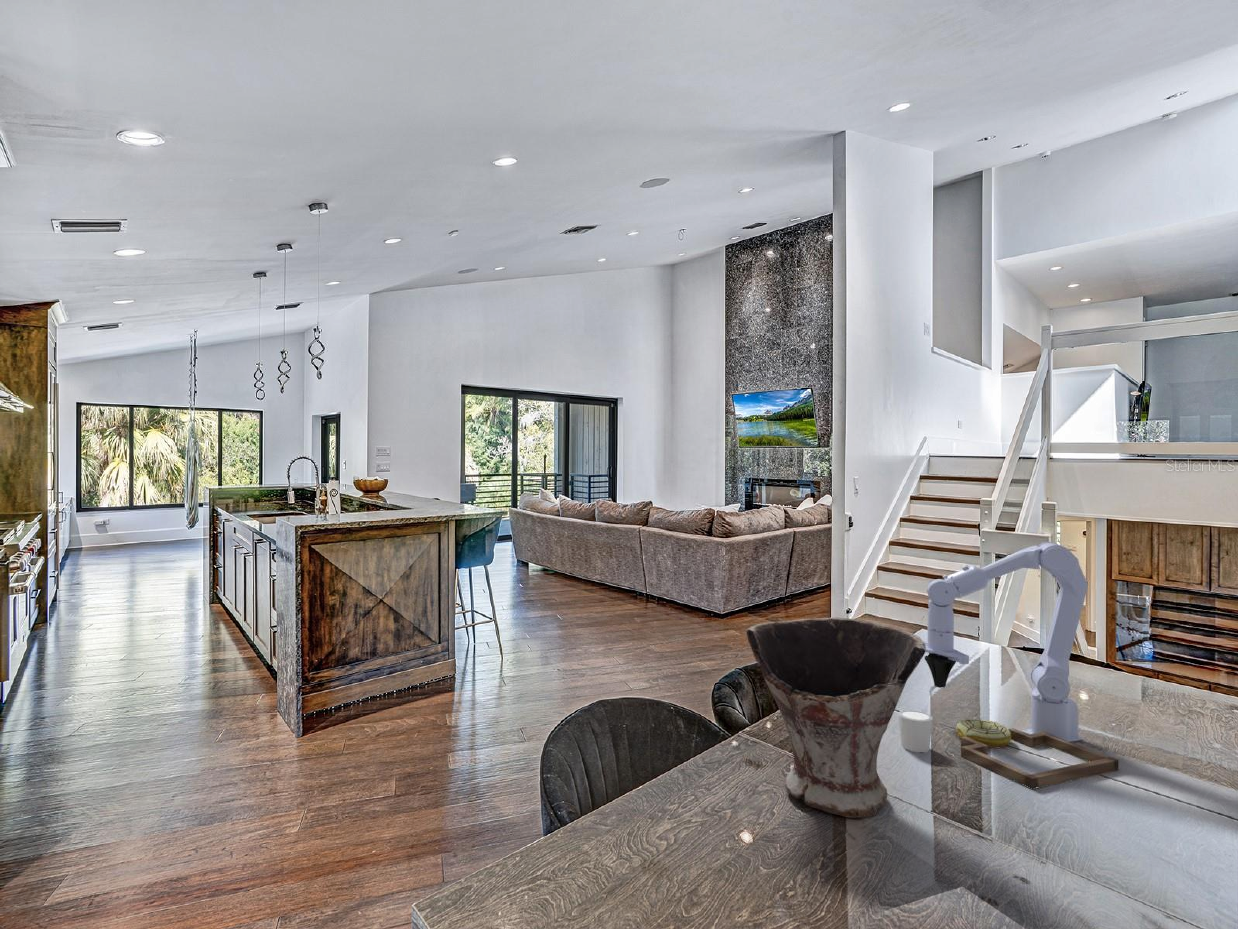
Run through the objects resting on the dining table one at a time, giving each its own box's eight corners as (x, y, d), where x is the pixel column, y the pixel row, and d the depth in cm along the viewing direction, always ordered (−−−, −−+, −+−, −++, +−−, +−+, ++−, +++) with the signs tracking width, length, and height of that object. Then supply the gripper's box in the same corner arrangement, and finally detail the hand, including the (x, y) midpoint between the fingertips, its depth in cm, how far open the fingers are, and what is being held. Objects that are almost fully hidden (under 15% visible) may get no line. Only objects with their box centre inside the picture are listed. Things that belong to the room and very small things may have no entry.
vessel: (728, 771, 134) (730, 618, 134) (835, 751, 144) (837, 610, 145) (830, 848, 106) (833, 656, 107) (954, 816, 117) (955, 642, 117)
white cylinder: (936, 755, 143) (936, 722, 143) (901, 752, 144) (902, 719, 144) (928, 743, 150) (928, 711, 150) (895, 740, 151) (895, 708, 151)
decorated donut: (953, 729, 159) (953, 713, 159) (1005, 736, 155) (1005, 719, 155) (960, 746, 149) (960, 728, 149) (1015, 753, 145) (1015, 735, 145)
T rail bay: (945, 749, 146) (945, 739, 146) (1026, 734, 156) (1026, 725, 156) (1032, 789, 128) (1032, 778, 128) (1118, 770, 137) (1118, 760, 137)
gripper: (904, 624, 169) (904, 679, 168) (953, 638, 155) (952, 697, 155) (926, 622, 171) (925, 676, 171) (975, 635, 158) (975, 694, 158)
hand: (940, 686), depth 163 cm, fingers closed
